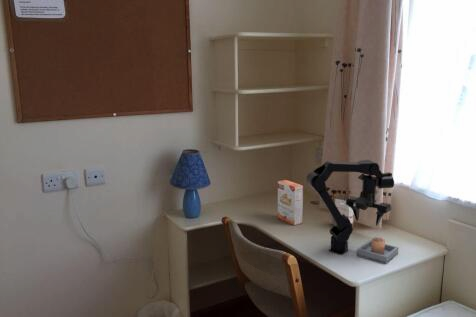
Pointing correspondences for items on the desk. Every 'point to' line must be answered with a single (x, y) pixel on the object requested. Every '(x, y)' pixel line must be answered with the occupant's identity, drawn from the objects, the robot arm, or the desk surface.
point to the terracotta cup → (378, 245)
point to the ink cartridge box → (344, 209)
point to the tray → (366, 253)
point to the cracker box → (290, 202)
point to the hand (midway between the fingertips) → (366, 223)
